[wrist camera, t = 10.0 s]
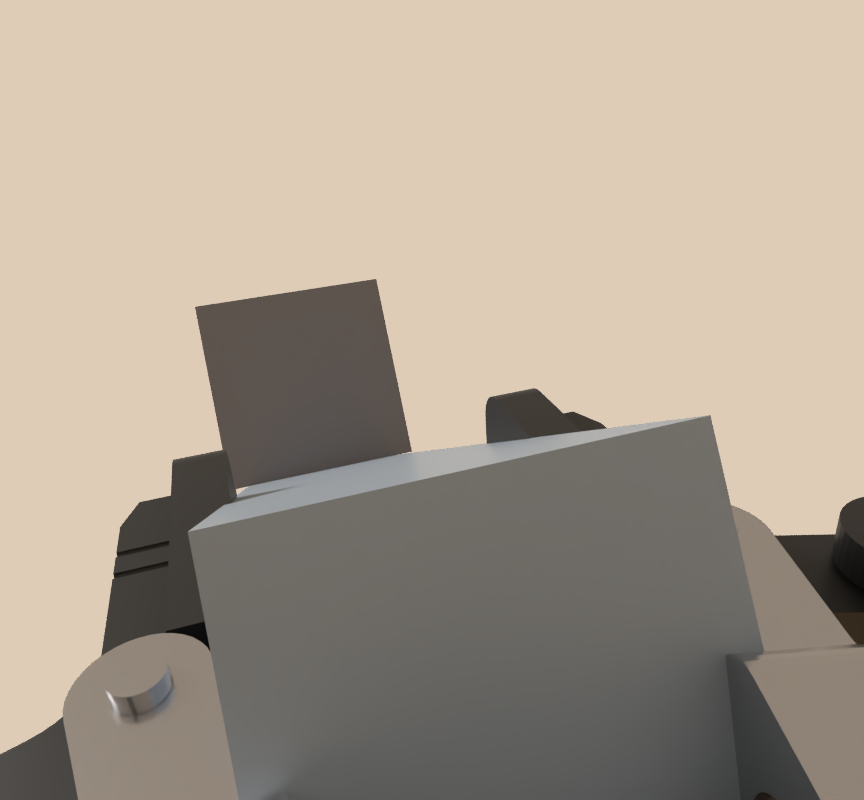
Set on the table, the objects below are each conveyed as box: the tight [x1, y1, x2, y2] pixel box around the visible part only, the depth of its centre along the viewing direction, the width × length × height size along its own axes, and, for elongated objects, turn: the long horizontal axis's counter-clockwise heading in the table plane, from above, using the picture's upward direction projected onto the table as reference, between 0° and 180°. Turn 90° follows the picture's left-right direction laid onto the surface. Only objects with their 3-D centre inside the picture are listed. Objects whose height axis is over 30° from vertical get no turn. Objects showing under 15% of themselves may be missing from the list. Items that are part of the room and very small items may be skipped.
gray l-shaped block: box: [188, 279, 764, 800], centre depth 16 cm, size 5×22×8 cm, turn 13°
